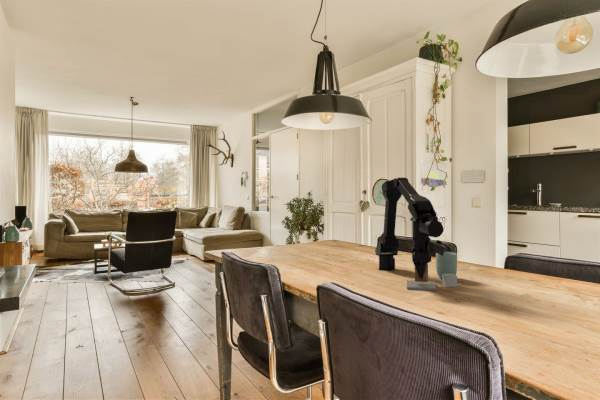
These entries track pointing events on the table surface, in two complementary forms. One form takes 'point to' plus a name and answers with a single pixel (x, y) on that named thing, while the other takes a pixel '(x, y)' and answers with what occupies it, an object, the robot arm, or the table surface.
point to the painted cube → (449, 280)
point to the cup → (446, 263)
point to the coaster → (421, 285)
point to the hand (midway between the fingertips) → (421, 276)
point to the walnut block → (425, 277)
